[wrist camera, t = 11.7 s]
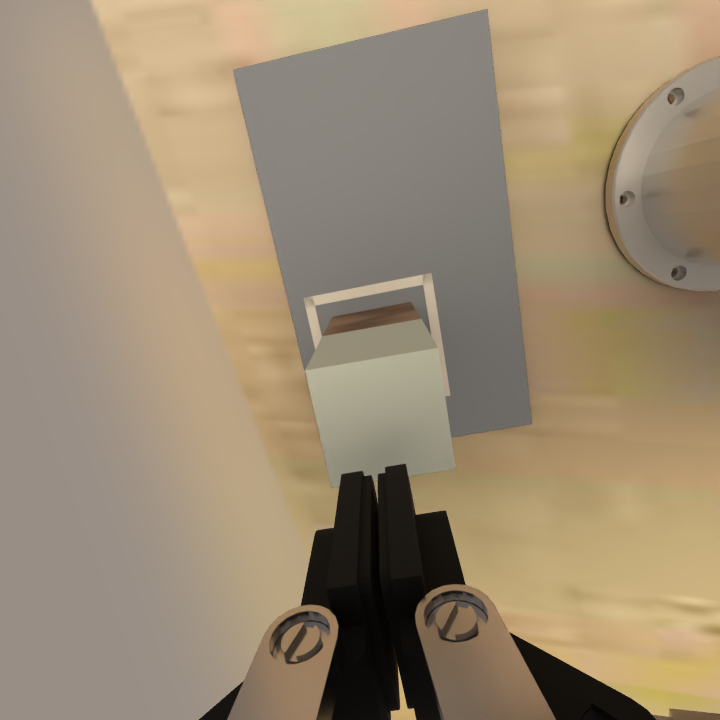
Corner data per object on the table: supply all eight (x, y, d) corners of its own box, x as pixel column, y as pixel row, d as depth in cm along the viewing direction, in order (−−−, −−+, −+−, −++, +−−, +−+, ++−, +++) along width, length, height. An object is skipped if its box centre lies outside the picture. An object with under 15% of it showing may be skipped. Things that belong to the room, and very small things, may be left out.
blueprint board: (483, 15, 25) (487, 8, 24) (528, 419, 31) (532, 424, 30) (237, 74, 26) (232, 69, 25) (326, 453, 32) (325, 459, 31)
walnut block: (411, 301, 28) (420, 318, 23) (423, 377, 30) (435, 412, 24) (332, 316, 29) (321, 337, 23) (348, 390, 30) (342, 428, 24)
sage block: (421, 318, 23) (438, 347, 17) (435, 412, 24) (455, 469, 18) (322, 336, 23) (304, 370, 17) (341, 427, 24) (331, 487, 18)
